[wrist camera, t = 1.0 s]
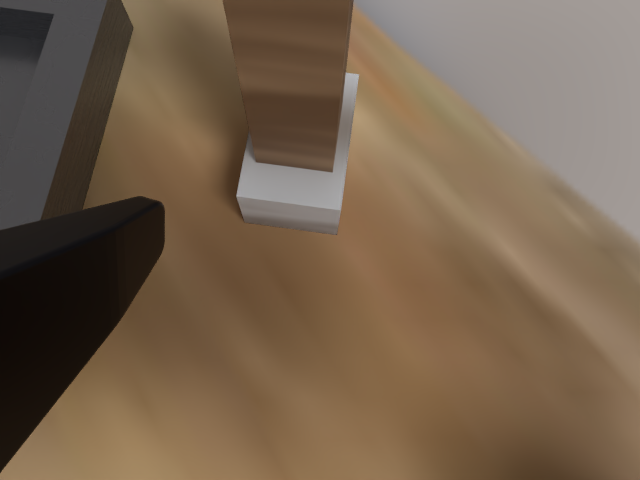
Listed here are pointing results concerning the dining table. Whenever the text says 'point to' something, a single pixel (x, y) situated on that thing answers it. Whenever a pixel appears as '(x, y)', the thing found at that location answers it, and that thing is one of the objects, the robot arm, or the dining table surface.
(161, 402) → the dining table surface
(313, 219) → the slot cleaner tool
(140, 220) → the robot arm
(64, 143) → the holder block
